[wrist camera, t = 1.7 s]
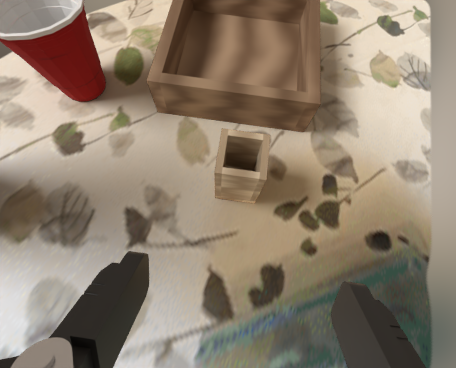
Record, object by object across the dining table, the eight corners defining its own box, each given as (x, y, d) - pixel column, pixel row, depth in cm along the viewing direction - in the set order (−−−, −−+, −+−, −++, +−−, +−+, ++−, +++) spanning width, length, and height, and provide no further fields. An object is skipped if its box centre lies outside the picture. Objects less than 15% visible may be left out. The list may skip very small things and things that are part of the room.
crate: (158, 112, 35) (146, 80, 29) (187, 9, 42) (182, -32, 37) (303, 132, 34) (320, 104, 29) (306, 25, 42) (319, -13, 37)
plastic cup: (118, 52, 38) (77, -41, 27) (129, 106, 35) (87, 25, 24) (45, 65, 37) (-31, -28, 26) (49, 123, 33) (-37, 45, 22)
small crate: (215, 197, 30) (214, 172, 23) (220, 162, 32) (221, 128, 25) (254, 203, 30) (266, 180, 23) (257, 167, 32) (270, 135, 25)
